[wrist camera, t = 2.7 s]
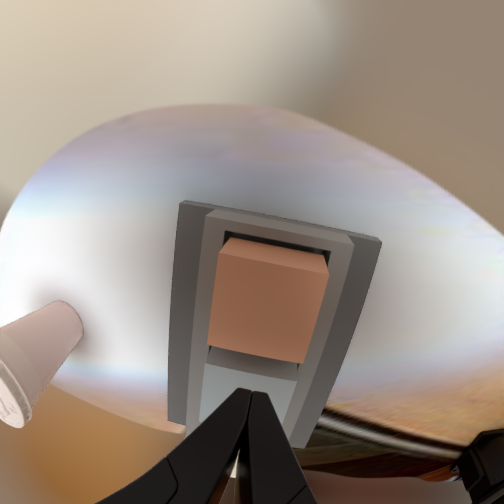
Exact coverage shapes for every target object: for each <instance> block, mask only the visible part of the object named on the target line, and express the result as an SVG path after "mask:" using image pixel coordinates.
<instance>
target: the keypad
mask: <svg viewBox="0 0 504 504" xmlns="http://www.w3.org/2000/svg"><path fill="white" fill-rule="evenodd" d="M230 237H233V238H238V239H243V240H248V241H253V242H258V243H263V244H269V245H274V246H279V247H284V248H289V249H294V250H299V251H304V252H309V253H314V254H319V255H324V259H325V262H326V265H327V268H328V272H329V278H328V282H327V285H326V289H325V293H324V296H323V300H322V303H321V307H320V310H319V314H318V317H317V321H316V324H315V327H314V331H313V334H312V337H311V341H310V344H309V347H308V350H307V353H306V356H305V360H304V363H303V364H301V363H297V384H296V387H295V390H294V393H293V395H292V398H291V401H290V404H289V407H288V410H287V412H286V415H285V418H284V421H283V423H282V427H283V429H284V431H285V434H286V436H287V438H288V440H289V443H290V445H291V447H296V448H305V446H306V444H307V442H308V440H309V438H310V436H311V434H312V432H313V430H314V428H315V425H316V423H317V421H318V419H319V417H320V415H321V412H322V410H323V408H324V406H325V403H326V401H327V399H328V397H329V394H330V392H331V390H332V387H333V385H334V383H335V380H336V378H337V375H338V373H339V370H340V368H341V365H342V363H343V360H344V358H345V355H346V352H347V350H348V347H349V344H350V342H351V339H352V336H353V334H354V331H355V328H356V325H357V322H358V319H359V317H360V314H361V311H362V308H363V305H364V302H365V299H366V295H367V292H368V289H369V286H370V283H371V279H372V276H373V273H374V269H375V266H376V263H377V259H378V256H379V252H380V248H381V245H382V242H381V241H380V240H379V239H378V238H376V237H371V236H367V235H362V234H358V233H353V232H349V231H344V230H339V229H335V228H330V227H325V226H320V225H316V224H311V223H306V222H301V221H296V220H291V219H286V218H281V217H275V216H270V215H265V214H260V213H254V212H249V211H244V210H238V209H233V208H227V207H221V206H216V205H210V204H204V203H198V202H192V201H186V200H185V201H183V202H181V203H180V204H179V213H178V222H177V231H176V241H175V252H174V264H173V276H172V290H171V306H170V325H169V350H168V421H171V422H175V423H178V424H182V425H185V426H186V435H185V438H186V437H187V436H188V435H189V434H190V433H191V432H192V431H193V430H195V429H196V428H197V427H198V426H199V425H200V424H201V422H200V421H199V414H200V404H201V394H202V385H203V375H204V366H205V361H206V359H207V357H208V354H209V352H210V350H211V347H212V346H211V345H207V340H208V331H209V323H210V315H211V307H212V299H213V291H214V284H215V276H216V269H217V261H218V254H219V252H220V250H221V249H222V248H223V246H224V245H225V244H226V242H227V241H228V240H229V238H230Z"/></svg>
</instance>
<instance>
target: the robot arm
mask: <svg viewBox="0 0 504 504" xmlns="http://www.w3.org/2000/svg"><path fill="white" fill-rule="evenodd" d="M238 452H239V453H238ZM237 456H238V459H237ZM236 460H237V466H236V480H235V493H234V504H318V502H317V500H316V498H315V496H314V494H313V492H312V490H311V488H310V486H309V485H307V484H308V482H307V480H306V478H305V476H304V473H303V471H302V469H301V467H300V465H299V462H298V460H297V458H296V456H295V454H294V452H293V449H292V447H291V445H290V443H289V440H288V438H287V436H286V434H285V431H284V429H283V427H282V425H281V422H280V420H279V418H278V416H277V413H276V411H275V409H274V406H273V404H272V402H271V399H270V397H269V395H268V394H267V393H266V392H260V391H253V392H252V390H250V389H245V388H240V387H238V388H236V389H235V390H234V391H233V392H232V393H231V394H230V395H229V396H228V397H227V398H226V399H225V400H224V401H223V402H222V403H221V404H220V405H219V406H218V407H217V408H216V409H215V410H214V411H213V412H212V413H211V414H210V415H209V416H208V417H207V418H206V419H205V420H204V421H203V422H202V423H201V424H200V425H199V426H198V427H197V428H196V429H195V430H193V431H192V432H191V433H190V434H189V435H188V436H187V437H186V438H185V439H184V440H183V441H182V442H181V443H179V444H178V445H177V446H176V447H175V448H174V449H173V450H172V451H171V452H170V453H169V454H167V455H166V457H164V458H163V459H161V460H160V461H159V462H158V463H157V464H156V465H155V466H153V467H152V468H151V469H149V470H148V471H147V472H146V473H144V474H143V475H142V476H140V477H139V478H137V479H136V480H134V481H133V482H131V483H130V484H128V485H127V486H125V487H124V488H122V489H120V490H118V491H117V492H115V493H113V494H111V495H110V496H108V497H106V498H104V499H103V500H101V501H99V502H97V503H95V504H219V503H220V501H221V498H222V496H223V493H224V491H225V488H226V486H227V484H228V481H229V478H230V476H231V474H232V471H233V468H234V466H235V463H236ZM450 471H451V473H456V472H460V475H461V478H462V480H463V483H464V486H465V489H466V491H467V492H469V494H470V497H471V500H472V504H504V429H502V430H496V431H489V432H483V433H481V434H480V435H479V436H478V437H477V438H476V440H475V441H474V442H473V443H472V445H471V446H470V447H469V448H468V449H467V451H466V452H465V453H464V454H463V455H462V456H461V458H460V459H459V460H458V461H457V462H456V463H455V464H454V466H453V467H452V468H451V469H450Z"/></svg>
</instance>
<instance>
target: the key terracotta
mask: <svg viewBox="0 0 504 504" xmlns="http://www.w3.org/2000/svg"><path fill="white" fill-rule="evenodd" d="M328 278H329V272H328V268H327V265H326V262H325V259H324V255H319V254H314V253H309V252H304V251H299V250H294V249H289V248H284V247H279V246H274V245H269V244H263V243H258V242H253V241H248V240H243V239H238V238H233V237H230V238H229V240H228V241H227V242H226V244H225V245H224V246H223V248H222V249H221V250H220V252H219V254H218V261H217V269H216V276H215V284H214V291H213V299H212V307H211V315H210V323H209V331H208V340H207V345H211V346H215V347H219V348H224V349H228V350H233V351H237V352H242V353H247V354H252V355H257V356H262V357H267V358H272V359H278V360H283V361H289V362H295V363H301V364H303V363H304V360H305V356H306V353H307V350H308V347H309V344H310V341H311V337H312V334H313V331H314V327H315V324H316V321H317V317H318V314H319V310H320V307H321V303H322V300H323V296H324V293H325V289H326V285H327V282H328Z"/></svg>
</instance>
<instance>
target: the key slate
mask: <svg viewBox="0 0 504 504" xmlns="http://www.w3.org/2000/svg"><path fill="white" fill-rule="evenodd" d="M296 384H297V363H295V362H289V361H283V360H278V359H272V358H267V357H262V356H257V355H252V354H247V353H242V352H237V351H233V350H228V349H224V348H219V347H215V346H212V347H211V350H210V352H209V354H208V357H207V359H206V361H205V366H204V375H203V385H202V394H201V404H200V414H199V421H200V422H203V421H204V420H205V419H206V418H207V417H208V416H209V415H210V414H211V413H212V412H213V411H214V410H215V409H216V408H217V407H218V406H219V405H220V404H221V403H222V402H223V401H224V400H225V399H226V398H227V397H228V396H229V395H230V394H231V393H232V392H233V391H234V390H235V389H236V388H238V387H240V388H245V389H250V390H252V392H253V391H260V392H266V393H267V394H268V395H269V397H270V399H271V402H272V404H273V406H274V409H275V411H276V413H277V416H278V418H279V420H280V422H281V425H282V423H283V421H284V418H285V415H286V412H287V410H288V407H289V404H290V401H291V398H292V395H293V393H294V390H295V387H296Z"/></svg>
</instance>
